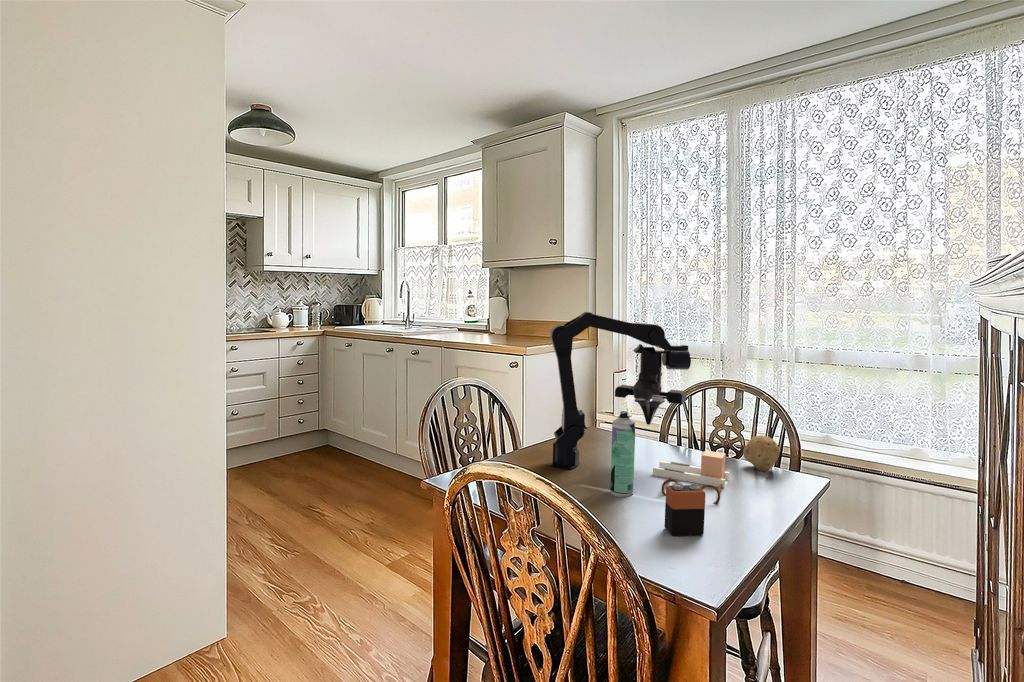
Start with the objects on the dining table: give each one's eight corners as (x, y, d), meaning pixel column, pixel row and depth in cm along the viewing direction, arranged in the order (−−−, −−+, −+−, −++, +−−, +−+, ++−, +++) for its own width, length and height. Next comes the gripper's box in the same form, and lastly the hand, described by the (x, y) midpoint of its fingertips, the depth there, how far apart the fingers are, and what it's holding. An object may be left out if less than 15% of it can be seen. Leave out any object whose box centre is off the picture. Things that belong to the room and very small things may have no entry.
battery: (663, 527, 113) (665, 480, 113) (695, 527, 114) (697, 480, 113) (671, 537, 109) (673, 488, 108) (704, 536, 110) (706, 487, 109)
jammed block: (700, 481, 140) (701, 455, 140) (704, 476, 144) (705, 450, 144) (721, 485, 138) (722, 458, 137) (724, 479, 142) (725, 453, 141)
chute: (652, 477, 145) (653, 466, 145) (659, 469, 151) (660, 459, 151) (724, 489, 136) (724, 478, 136) (729, 481, 142) (729, 471, 142)
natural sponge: (738, 471, 151) (740, 435, 150) (747, 463, 158) (749, 429, 157) (774, 478, 146) (776, 441, 145) (781, 470, 153) (783, 435, 152)
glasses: (660, 499, 130) (661, 479, 130) (668, 482, 142) (669, 464, 142) (719, 509, 125) (720, 487, 125) (723, 490, 137) (723, 471, 136)
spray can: (634, 490, 135) (637, 410, 133) (631, 498, 130) (634, 415, 128) (612, 487, 137) (614, 408, 135) (608, 495, 131) (610, 413, 130)
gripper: (608, 369, 150) (606, 425, 151) (677, 375, 141) (675, 435, 142) (622, 365, 160) (620, 418, 161) (687, 370, 150) (685, 426, 152)
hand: (648, 424), depth 154 cm, fingers closed
